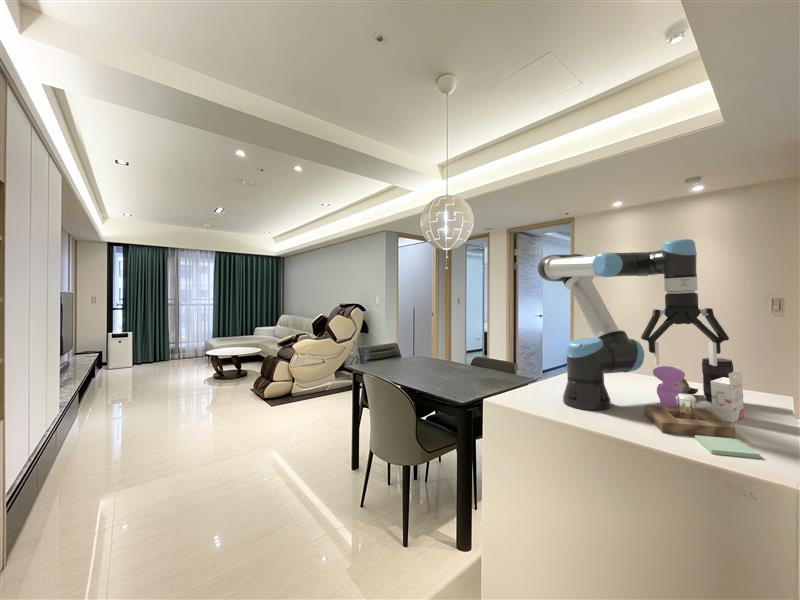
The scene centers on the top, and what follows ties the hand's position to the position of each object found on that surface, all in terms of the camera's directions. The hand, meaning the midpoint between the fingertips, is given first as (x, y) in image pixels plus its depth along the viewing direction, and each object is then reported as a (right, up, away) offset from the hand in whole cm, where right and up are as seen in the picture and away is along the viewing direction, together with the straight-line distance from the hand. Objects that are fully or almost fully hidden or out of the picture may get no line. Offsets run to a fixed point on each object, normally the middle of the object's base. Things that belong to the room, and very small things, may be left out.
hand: (684, 364), depth 100 cm
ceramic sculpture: (+21, -18, +28) cm, 39 cm away
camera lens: (+29, -17, +20) cm, 39 cm away
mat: (-2, -18, -15) cm, 24 cm away
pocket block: (+1, -18, 0) cm, 18 cm away
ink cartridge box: (+17, -18, +5) cm, 25 cm away
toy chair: (+7, -18, +14) cm, 24 cm away
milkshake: (+1, -18, 0) cm, 18 cm away
